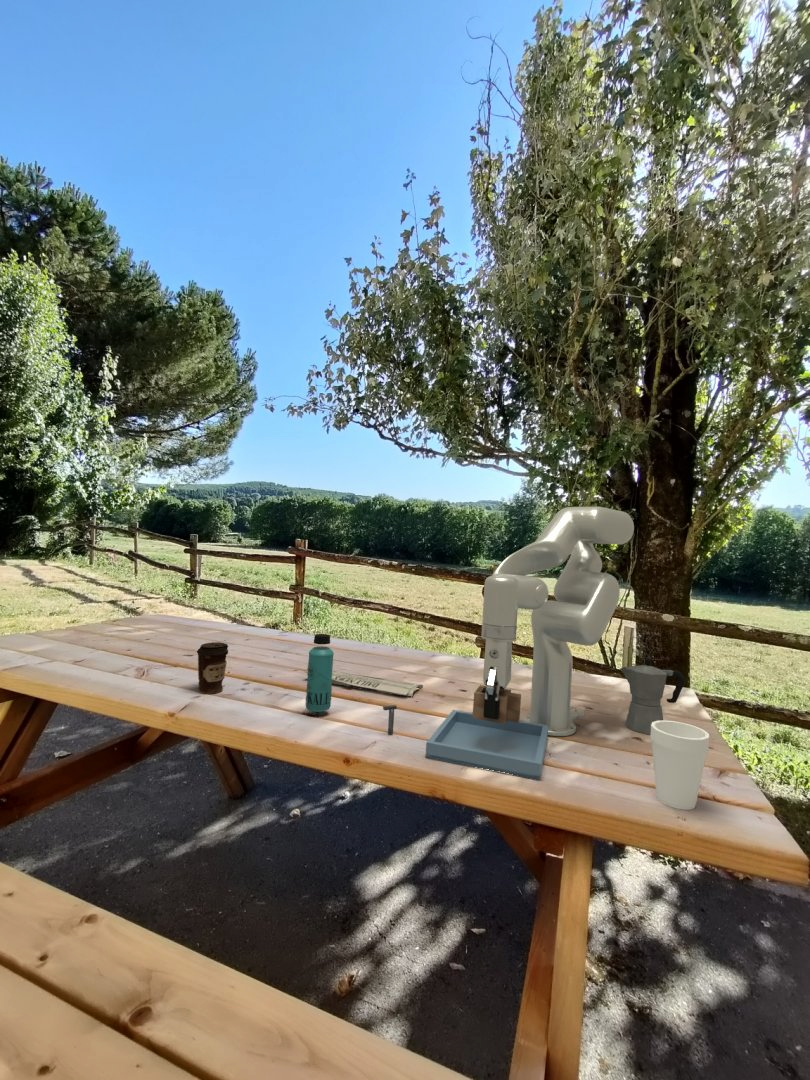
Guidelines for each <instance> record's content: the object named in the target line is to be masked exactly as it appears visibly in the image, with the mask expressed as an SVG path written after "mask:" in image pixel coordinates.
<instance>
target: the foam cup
mask: <svg viewBox="0 0 810 1080" xmlns="http://www.w3.org/2000/svg"><path fill="white" fill-rule="evenodd" d="M649 736H650V737H649V738H650V739H651V746H652V747H651V748H652V758H653V759H652V760H653V770H654V783H655V794H656V798H657V800H658V801H659V802H660V803H662V804H664V805H665V806H668V807H672V808H674V809H678V810H683V811H691V810H694V809H695V808H696V805H697V801H698V797H699V796H698V795H699V791H700V787H701V782H702V775H703V774H704V773H703V772H704V767H705V761H706V757H707V752H709V747H710V746H709V745H710V744H709V743H710V734H709V733H708V732H707V731H706V730H705V729H703V728H701V727H697V726H695V725H693V724H689V723H685V722H681V721H673V720H663V721H655V722H652V724H651V735H649Z"/></svg>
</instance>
